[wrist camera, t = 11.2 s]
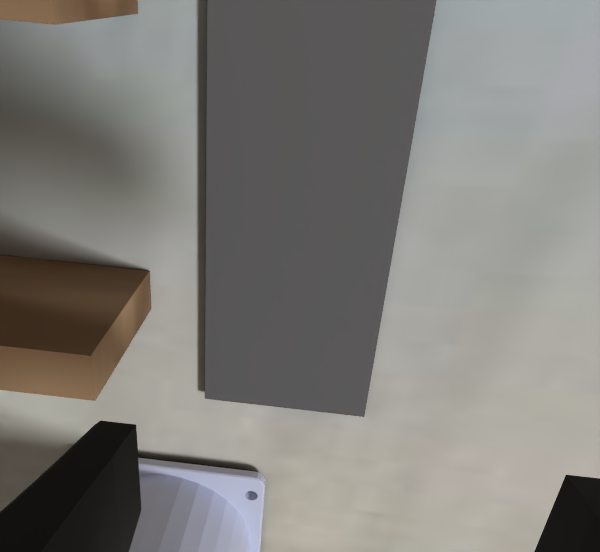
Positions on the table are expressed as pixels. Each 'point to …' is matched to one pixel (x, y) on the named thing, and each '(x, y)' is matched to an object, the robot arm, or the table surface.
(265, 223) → the strip
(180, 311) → the table surface
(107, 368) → the channel
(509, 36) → the table surface
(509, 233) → the table surface
